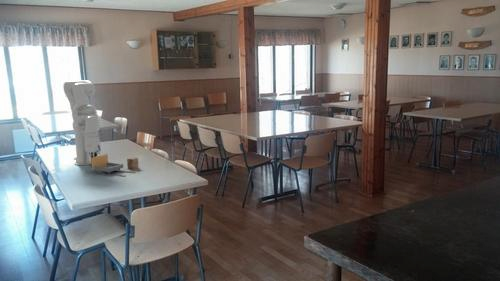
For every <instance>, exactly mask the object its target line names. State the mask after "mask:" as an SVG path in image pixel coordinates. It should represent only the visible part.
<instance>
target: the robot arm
mask: <svg viewBox="0 0 500 281" xmlns="http://www.w3.org/2000/svg"><path fill="white" fill-rule="evenodd" d="M62 86H63V91H64V95H65V97H66V98H67V100H68V102H69V106H70V110H71V117H72V120H73V122H72V129H73V133H74V139H75V140H74V142H75V152H76V154H75V155H76V156H75V157H74V158H73V160H74V161H75V162H74V165H76V166H86V165H87V166H88V165H89V166H90V165H92V158H93V157H97V156H99V155H100V154H101V151H102V148H101V147H102V146H101V140H100V136H99V130H100V121H99V117H98V112H97V108H96V107H95V105H93V104H90V100H89V99H90V98H89V96H92V95H94V94H95V93H96V87H95V85H94V83H92V82H91V81H90V80H87V79H86V80H84V79H83V80H67V81H65V82H64V83H63V85H62Z"/></svg>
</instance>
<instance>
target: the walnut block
mask: <svg viewBox="0 0 500 281" xmlns="http://www.w3.org/2000/svg"><path fill="white" fill-rule="evenodd" d="M126 162H127V169H128V170H132V171H133V170H136V169H139V157H135V156H134V157H133V156H132V157H128V158H126Z"/></svg>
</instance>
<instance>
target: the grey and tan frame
mask: <svg viewBox="0 0 500 281" xmlns="http://www.w3.org/2000/svg"><path fill="white" fill-rule="evenodd" d="M122 169H124V163H117V162H111V161H110V162H109V158H108V153H105V154H101V155H100V154H99V155H97V156H96V157H93V158H92V164H91V170H92V171H96V172H105V173H112V172H115V171H114V170H122Z"/></svg>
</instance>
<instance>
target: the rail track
mask: <svg viewBox="0 0 500 281" xmlns="http://www.w3.org/2000/svg"><path fill="white" fill-rule="evenodd" d="M113 172H120V173H121V172H122V173H129V174H136V173H137V172H136V171H133V170H132V171H131V170H124V169H120V170H114V171H113ZM120 173H119V174H118V173H112V172H110V173H108V172H104V171H99V172H97V171H96V174H102V175H109V176H115V177H127V175H126V174H120Z"/></svg>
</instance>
